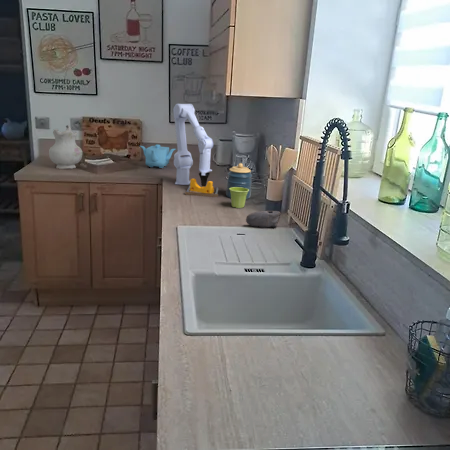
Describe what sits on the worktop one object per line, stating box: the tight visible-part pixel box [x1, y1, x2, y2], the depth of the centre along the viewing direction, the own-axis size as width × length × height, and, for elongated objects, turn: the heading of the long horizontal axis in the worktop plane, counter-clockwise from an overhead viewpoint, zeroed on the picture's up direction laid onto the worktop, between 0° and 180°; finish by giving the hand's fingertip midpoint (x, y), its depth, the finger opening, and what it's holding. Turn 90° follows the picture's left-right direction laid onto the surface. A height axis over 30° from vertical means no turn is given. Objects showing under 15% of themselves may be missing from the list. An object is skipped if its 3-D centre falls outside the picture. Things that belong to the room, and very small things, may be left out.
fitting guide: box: [184, 184, 219, 198], centre depth 248 cm, size 16×17×2 cm
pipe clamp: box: [189, 177, 215, 194], centre depth 249 cm, size 12×4×6 cm, turn 66°
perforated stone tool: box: [245, 210, 282, 228], centre depth 197 cm, size 15×5×7 cm, turn 94°
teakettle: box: [139, 144, 177, 169], centre depth 304 cm, size 19×19×15 cm
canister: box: [225, 162, 253, 200], centre depth 242 cm, size 13×13×18 cm
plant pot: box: [229, 187, 249, 209], centre depth 224 cm, size 9×9×9 cm
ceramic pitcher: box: [48, 124, 83, 170], centre depth 285 cm, size 22×20×25 cm
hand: (203, 186), depth 252 cm, fingers closed
